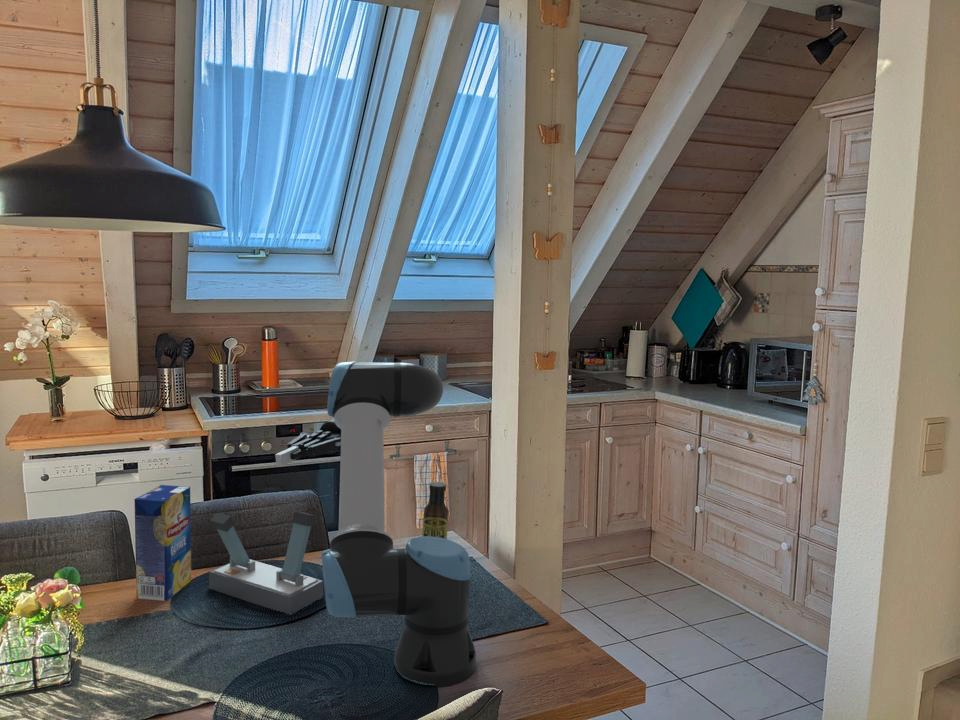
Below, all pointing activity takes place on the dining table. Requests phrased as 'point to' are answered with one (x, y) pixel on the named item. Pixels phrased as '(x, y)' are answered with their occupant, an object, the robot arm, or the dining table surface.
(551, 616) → the dining table surface
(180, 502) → the blue food box
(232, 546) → the lever far
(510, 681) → the dining table surface
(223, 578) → the switch console
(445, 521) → the sauce bottle
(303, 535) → the lever near
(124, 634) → the dining table surface
